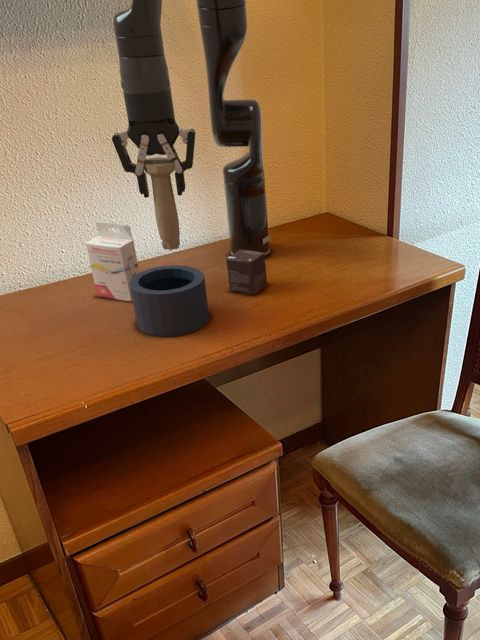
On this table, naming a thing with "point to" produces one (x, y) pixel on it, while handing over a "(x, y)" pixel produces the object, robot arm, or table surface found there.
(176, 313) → the jar
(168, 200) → the handle
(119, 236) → the ink cartridge box
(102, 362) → the table surface
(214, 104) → the robot arm
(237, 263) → the box
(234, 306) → the table surface
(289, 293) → the table surface
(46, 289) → the table surface
